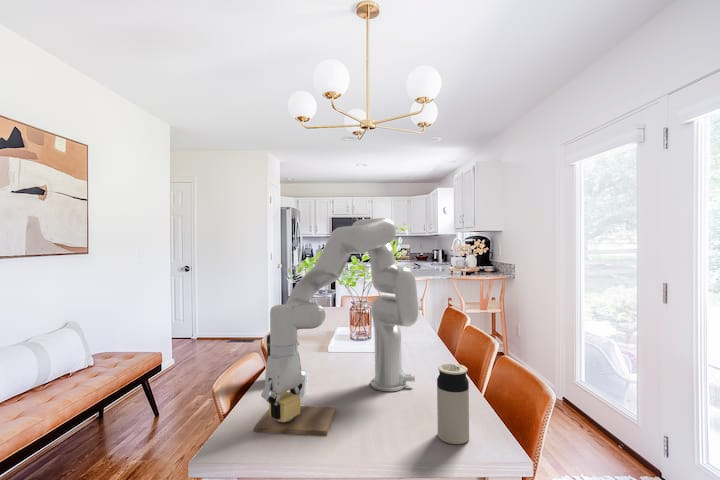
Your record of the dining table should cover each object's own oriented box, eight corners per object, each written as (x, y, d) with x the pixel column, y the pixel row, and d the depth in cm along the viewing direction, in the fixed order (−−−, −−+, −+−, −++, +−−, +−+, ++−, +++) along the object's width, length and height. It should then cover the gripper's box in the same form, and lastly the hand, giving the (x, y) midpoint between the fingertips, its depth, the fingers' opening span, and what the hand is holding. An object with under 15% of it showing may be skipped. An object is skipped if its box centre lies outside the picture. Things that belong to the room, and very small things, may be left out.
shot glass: (291, 399, 122) (291, 377, 122) (285, 392, 128) (285, 371, 128) (311, 395, 125) (311, 374, 125) (304, 388, 131) (304, 368, 131)
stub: (295, 416, 107) (295, 398, 107) (290, 424, 103) (290, 405, 103) (279, 415, 108) (279, 398, 108) (273, 423, 103) (273, 405, 103)
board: (336, 411, 113) (335, 407, 113) (326, 435, 99) (326, 430, 99) (271, 408, 115) (271, 404, 115) (253, 431, 101) (253, 427, 101)
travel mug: (442, 446, 93) (441, 373, 93) (434, 430, 101) (433, 363, 101) (473, 444, 94) (472, 372, 94) (463, 428, 101) (462, 362, 102)
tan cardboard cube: (285, 408, 110) (285, 391, 110) (300, 413, 106) (300, 395, 106) (269, 416, 105) (269, 398, 105) (284, 422, 101) (283, 403, 101)
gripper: (297, 340, 115) (297, 399, 115) (250, 354, 101) (251, 421, 101) (315, 344, 110) (315, 405, 110) (268, 359, 96) (269, 430, 96)
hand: (284, 412), depth 105 cm, fingers closed on tan cardboard cube, 5 cm apart
